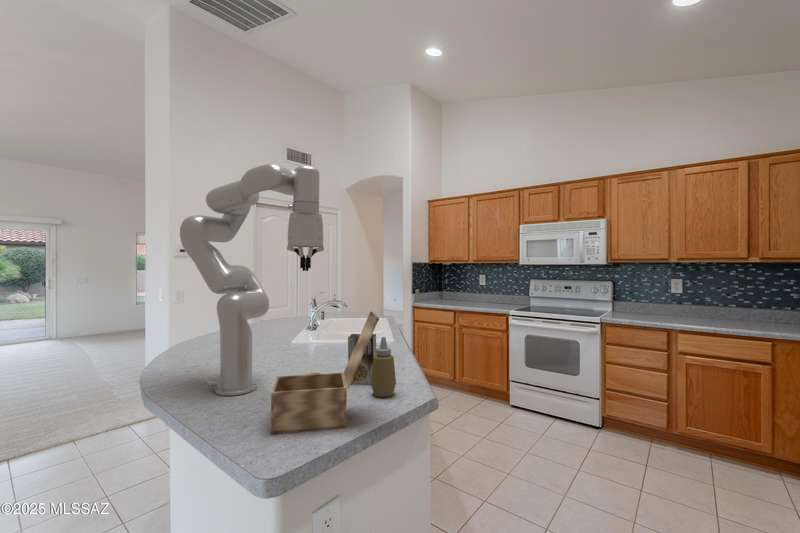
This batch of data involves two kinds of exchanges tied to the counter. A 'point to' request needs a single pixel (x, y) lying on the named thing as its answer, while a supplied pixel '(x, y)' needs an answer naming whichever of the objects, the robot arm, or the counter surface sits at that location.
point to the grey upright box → (363, 359)
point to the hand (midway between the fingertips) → (305, 270)
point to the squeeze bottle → (383, 371)
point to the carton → (308, 403)
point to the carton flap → (360, 348)
